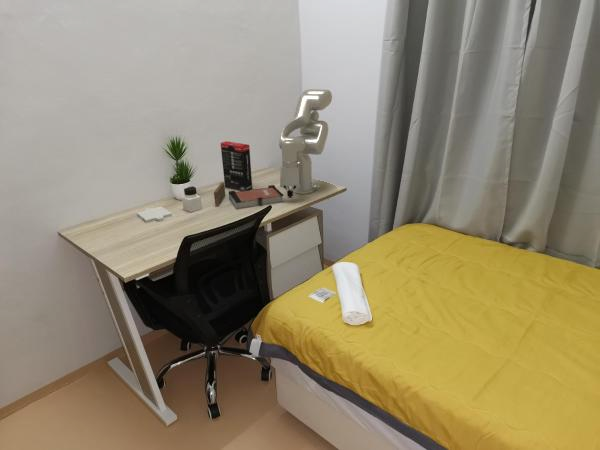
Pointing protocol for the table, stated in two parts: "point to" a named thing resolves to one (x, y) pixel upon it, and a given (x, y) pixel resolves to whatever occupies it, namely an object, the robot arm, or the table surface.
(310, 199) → the table surface
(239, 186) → the graphics card box
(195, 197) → the medicine bottle
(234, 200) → the book
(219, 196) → the walnut board
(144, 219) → the mounting plate
